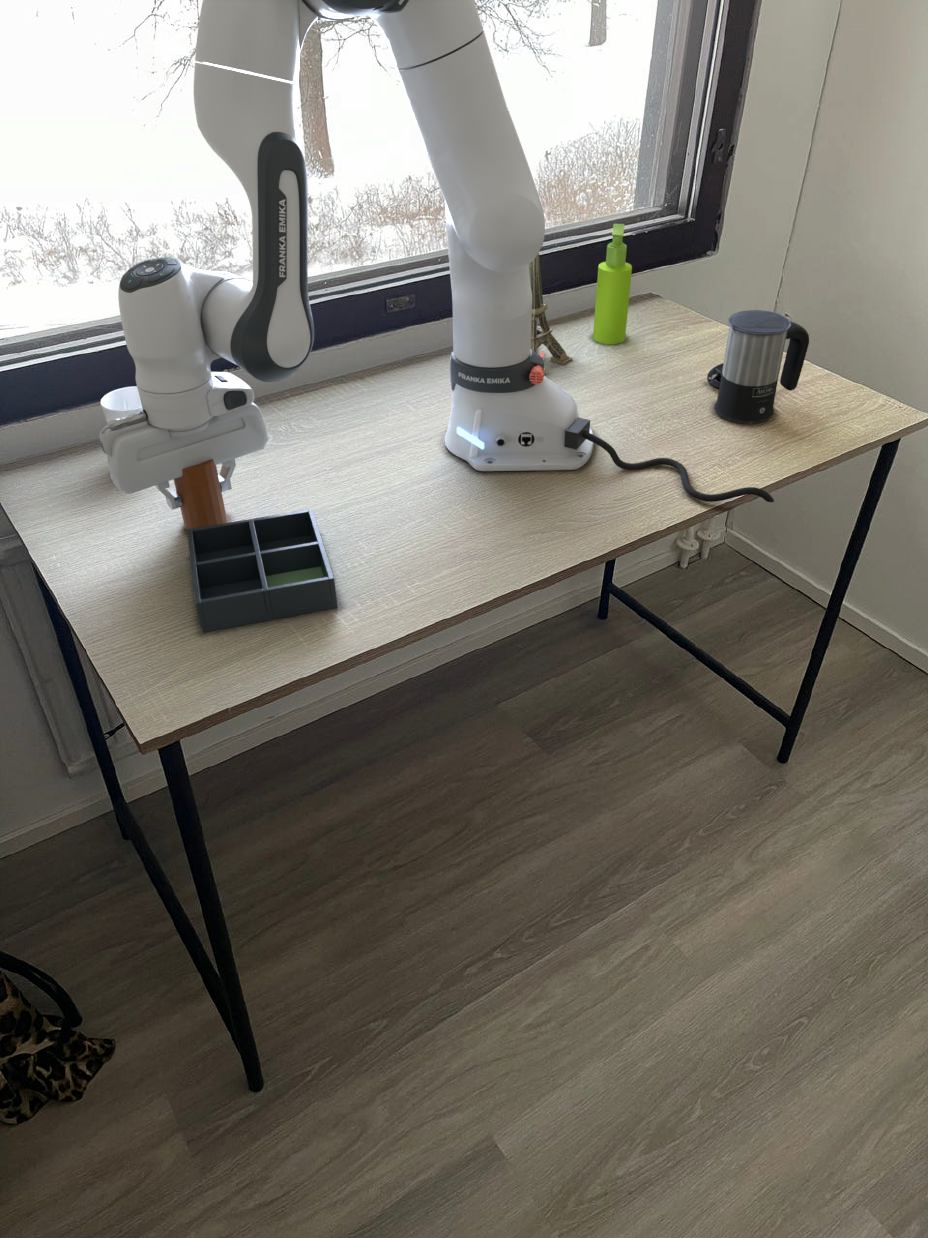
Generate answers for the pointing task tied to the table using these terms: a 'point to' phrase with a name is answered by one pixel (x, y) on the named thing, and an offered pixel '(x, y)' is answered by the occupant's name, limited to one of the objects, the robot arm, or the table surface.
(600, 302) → the soap dispenser
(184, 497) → the jar
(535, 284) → the eiffel tower
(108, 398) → the white cup
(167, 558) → the table surface
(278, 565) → the compartment tray
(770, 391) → the milk frother
